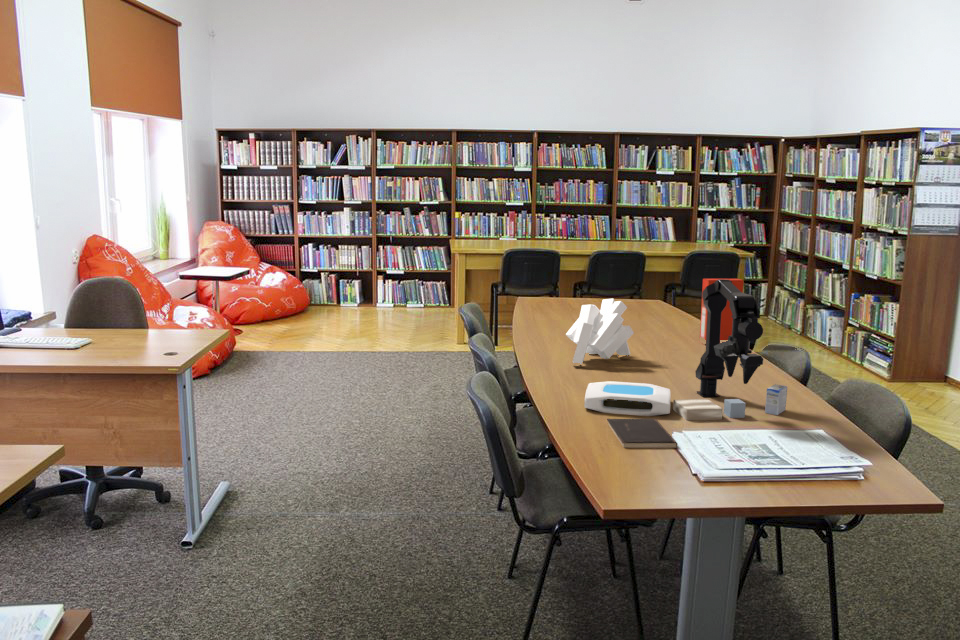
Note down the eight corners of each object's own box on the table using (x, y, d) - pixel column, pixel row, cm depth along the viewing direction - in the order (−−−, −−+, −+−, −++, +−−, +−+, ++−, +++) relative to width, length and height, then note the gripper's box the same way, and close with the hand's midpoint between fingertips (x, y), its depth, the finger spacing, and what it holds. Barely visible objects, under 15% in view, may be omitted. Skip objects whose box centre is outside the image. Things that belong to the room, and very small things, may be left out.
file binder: (699, 342, 379) (702, 278, 374) (732, 341, 380) (736, 278, 375) (705, 345, 371) (709, 280, 366) (739, 345, 372) (743, 280, 367)
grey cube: (723, 413, 254) (724, 399, 253) (737, 413, 255) (738, 399, 254) (730, 418, 249) (731, 403, 248) (744, 417, 250) (745, 403, 249)
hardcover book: (622, 449, 219) (622, 442, 218) (606, 425, 241) (607, 418, 241) (677, 449, 219) (677, 441, 219) (656, 425, 242) (657, 418, 241)
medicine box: (772, 408, 261) (774, 383, 260) (785, 410, 258) (787, 386, 257) (764, 413, 255) (766, 388, 254) (778, 415, 252) (780, 390, 251)
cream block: (672, 411, 258) (673, 399, 257) (706, 410, 259) (707, 399, 259) (686, 421, 246) (687, 409, 245) (721, 420, 247) (722, 408, 247)
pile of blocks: (620, 385, 313) (656, 308, 315) (554, 353, 317) (590, 279, 319) (614, 387, 347) (646, 319, 349) (555, 359, 352) (587, 291, 354)
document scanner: (669, 418, 249) (670, 399, 248) (584, 412, 255) (584, 394, 254) (669, 401, 269) (669, 384, 268) (589, 396, 275) (590, 379, 274)
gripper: (704, 329, 254) (701, 374, 257) (734, 340, 236) (730, 388, 239) (734, 328, 257) (730, 373, 260) (766, 339, 239) (762, 387, 242)
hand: (737, 380), depth 250 cm, fingers open, 9 cm apart
